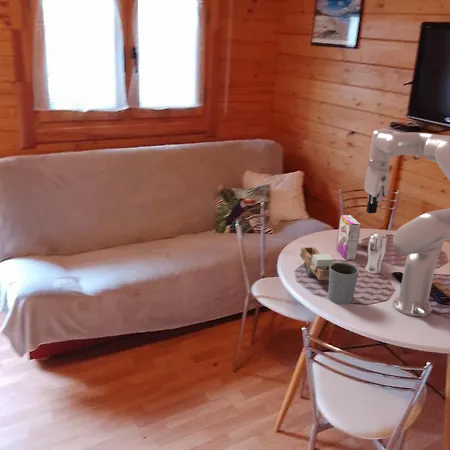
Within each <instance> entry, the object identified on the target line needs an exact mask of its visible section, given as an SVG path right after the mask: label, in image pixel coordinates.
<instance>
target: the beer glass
mask: <svg viewBox="0 0 450 450" xmlns="http://www.w3.org/2000/svg"><path fill="white" fill-rule="evenodd" d="M387 242H388V236H387V235H385V234H384V233H379V232H376V233H375V232H374V233H370V234H369V238H368V243H367V261H366V262H367V263H366V265H365V268H364V270H365V271H366V272H367V271H368V272H367V273H370V274H380V273H381V272H382V262H383V258H384V256H385V253H386V250H387V244H388V243H387Z"/></svg>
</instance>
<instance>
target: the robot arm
mask: <svg viewBox="0 0 450 450" xmlns="http://www.w3.org/2000/svg"><path fill="white" fill-rule="evenodd" d="M369 149H370V150H369V155H368V160H367V170H366V174H365V179H364V183H363V186H364V187H363V190H364V191H365V193H366V195H367V206H366V213H368V214H376V213H377V211H378V210H377V209H378V204H379V202H382V201H383V198H386V197H387V196H388V191H389V183H390V181H389V180H390V165H391V159H392V156H393V157H395V156H396V157H397V156H406V155H407V156H409V155H417V156H418V155H419V156H425V158H426V159H427V160H428V161H429V162H431V163H433V162H435V163H437V165H438V166H439V169H440V170H441V171H442V173H443V174H444V175H445V177H446V179H447V180H448V181H449V182H450V135H447V134H446V135H444V134H443V135H442V134H436V133H427V132H426V133H425V132H415V131H414V132H397V133H394V131H393V130H391V129H385V128H383V129H382V128H379V129H378V128H377V129H374V130H373V132H372V135H371V142H370V147H369ZM448 240H450V207H448V208H444V209H438V210H437V209H436V210H431V211H428V212H424V213H422V214H420V215H418V216H417V217H415V218H413V219H412V220H410V221H408V222H406V223H404V224H403V225H401V226H400V227H398V228H397V229H396V231H395V232H394V235H393V239H392V244H393V246H394V248H395V250H396V251H397V252H399V253H400V254H402V255H406V259H405V265H404V269H403V274H402V277H401V278H402V280H401V285H400V291H399V295H398V297H397V296H396V297H395V298H394V299H393V301H392V306H393V307H394V308H395V309H396V310H397V311H399V312H400V313H402V314H404V315H408V316H411V317H424V318H425V317H426V316H428V315H430V314H431V313H432V307H431V305H430V302H429V299H430V294H431V289H432V284H433V280H434V274H435V270H436V267H437V262H438V259H439V255H440V253H441V250H442V248H443V246H444V244H445V241H448Z"/></svg>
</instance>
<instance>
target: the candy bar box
mask: <svg viewBox="0 0 450 450" xmlns="http://www.w3.org/2000/svg"><path fill="white" fill-rule="evenodd" d="M339 222H340V225H339V224H338V230H339V234H338V233H337V237H338V242H337V241H336V251H337V252H338V253H339V254H340V255H341V257H343V259H345V261H350V260H351V261H352V260H356V259H357V254H358V253H357V252H358V246H359V239H360V231H361V225H362V223H360V222H359V221H358V220H357V219H356V218H354V217H353V216H352V215H350V214H341V215H340V217H339Z"/></svg>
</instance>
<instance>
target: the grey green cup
mask: <svg viewBox="0 0 450 450" xmlns="http://www.w3.org/2000/svg"><path fill="white" fill-rule="evenodd" d="M359 273H360V270H359V268H358V267H357V266H356V265H354V264H351V263H348V262H347V263H346V262H333V264H331V265H330V269H329V280H328V293H327V294H328V296H327V298H328V299H329V301H330V302H332V303H335V304H338V305H349V304H351V303H352V302H353V301H354V300H353V299H354V295H355V290H356V284H357V281H358V276H359Z"/></svg>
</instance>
